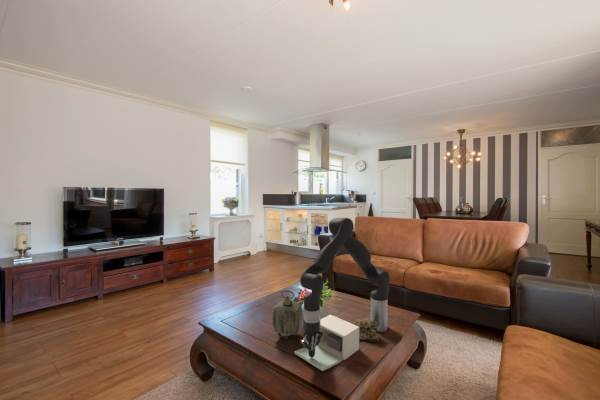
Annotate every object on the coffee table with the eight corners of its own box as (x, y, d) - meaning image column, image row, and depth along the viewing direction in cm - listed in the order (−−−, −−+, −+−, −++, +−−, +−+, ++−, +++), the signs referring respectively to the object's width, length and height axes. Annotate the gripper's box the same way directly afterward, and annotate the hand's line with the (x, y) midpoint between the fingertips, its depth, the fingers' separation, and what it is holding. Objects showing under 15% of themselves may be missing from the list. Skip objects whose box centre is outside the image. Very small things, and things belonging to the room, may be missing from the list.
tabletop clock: (302, 335, 147) (302, 289, 146) (298, 344, 138) (298, 295, 137) (276, 331, 151) (276, 286, 149) (271, 340, 142) (271, 292, 141)
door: (314, 343, 136) (294, 351, 127) (342, 359, 124) (322, 368, 115) (313, 348, 136) (294, 356, 127) (341, 364, 124) (322, 374, 115)
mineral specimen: (350, 343, 139) (350, 324, 139) (349, 330, 152) (349, 313, 152) (380, 345, 138) (380, 326, 137) (375, 332, 150) (376, 314, 150)
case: (330, 336, 146) (330, 314, 145) (359, 351, 133) (359, 326, 132) (314, 345, 137) (314, 322, 137) (344, 362, 124) (344, 336, 124)
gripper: (315, 310, 129) (315, 346, 130) (295, 320, 120) (295, 359, 120) (328, 316, 124) (327, 353, 124) (307, 326, 114) (307, 367, 115)
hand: (311, 356), depth 122 cm, fingers closed
